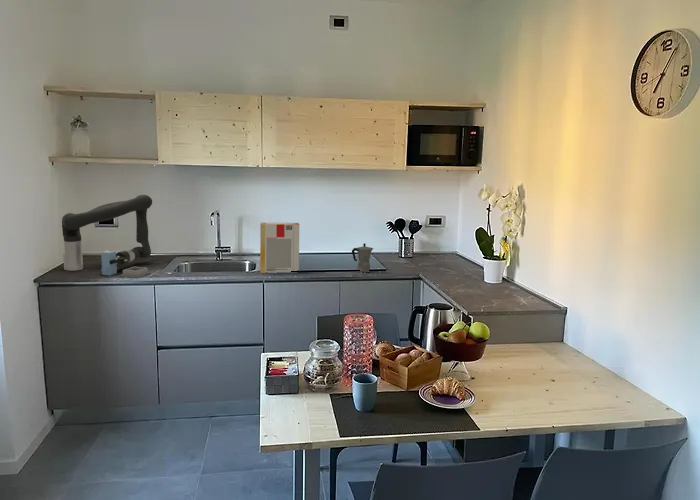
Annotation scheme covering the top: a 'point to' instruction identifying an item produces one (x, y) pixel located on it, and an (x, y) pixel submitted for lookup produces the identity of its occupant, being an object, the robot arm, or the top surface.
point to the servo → (108, 263)
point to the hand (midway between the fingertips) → (106, 262)
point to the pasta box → (279, 247)
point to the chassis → (135, 272)
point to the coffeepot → (363, 257)
